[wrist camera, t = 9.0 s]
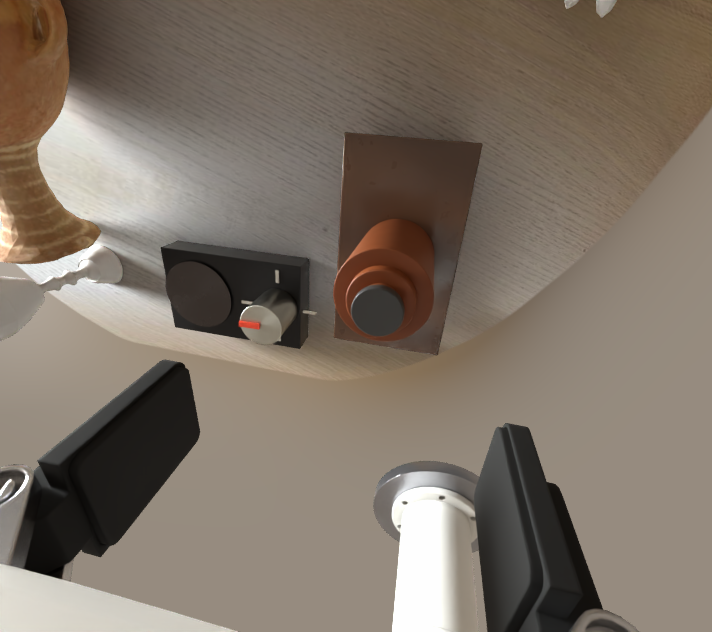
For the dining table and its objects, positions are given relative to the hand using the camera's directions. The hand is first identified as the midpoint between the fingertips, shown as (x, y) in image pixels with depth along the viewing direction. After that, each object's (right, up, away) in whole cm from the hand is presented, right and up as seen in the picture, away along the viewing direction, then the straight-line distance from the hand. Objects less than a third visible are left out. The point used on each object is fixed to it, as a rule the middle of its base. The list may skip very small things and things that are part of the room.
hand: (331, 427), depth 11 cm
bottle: (+4, +8, +16) cm, 18 cm away
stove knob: (-8, +4, +28) cm, 29 cm away
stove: (-13, +6, +32) cm, 35 cm away
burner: (-17, +6, +30) cm, 35 cm away
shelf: (+6, +12, +25) cm, 28 cm away
